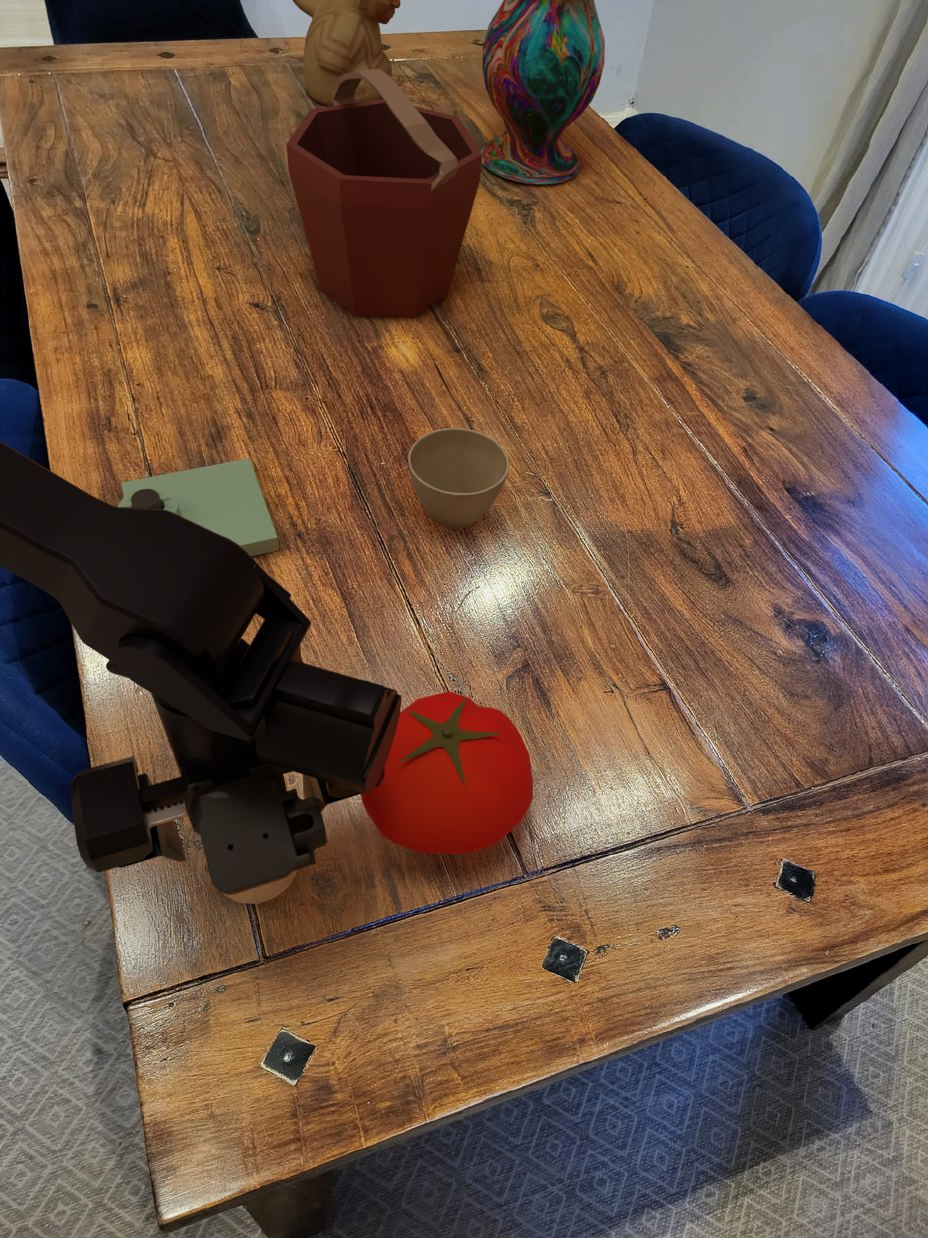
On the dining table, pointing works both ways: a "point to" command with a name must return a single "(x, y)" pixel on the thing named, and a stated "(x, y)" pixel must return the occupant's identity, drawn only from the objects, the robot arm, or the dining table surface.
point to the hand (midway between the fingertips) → (247, 834)
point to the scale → (216, 502)
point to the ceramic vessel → (344, 44)
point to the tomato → (452, 778)
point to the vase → (540, 84)
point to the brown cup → (457, 474)
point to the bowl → (263, 891)
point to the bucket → (383, 197)
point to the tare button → (146, 499)
